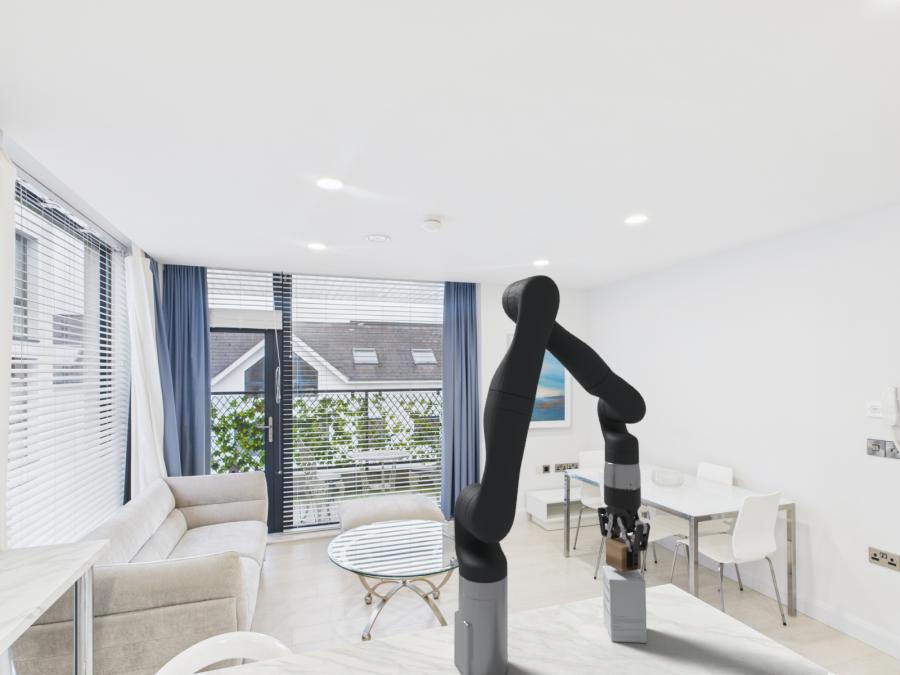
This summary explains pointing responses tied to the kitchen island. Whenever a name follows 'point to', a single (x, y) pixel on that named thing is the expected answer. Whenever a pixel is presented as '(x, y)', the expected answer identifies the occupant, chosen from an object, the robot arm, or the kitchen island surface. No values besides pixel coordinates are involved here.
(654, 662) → the kitchen island surface
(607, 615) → the supplement box
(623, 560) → the walnut cube
